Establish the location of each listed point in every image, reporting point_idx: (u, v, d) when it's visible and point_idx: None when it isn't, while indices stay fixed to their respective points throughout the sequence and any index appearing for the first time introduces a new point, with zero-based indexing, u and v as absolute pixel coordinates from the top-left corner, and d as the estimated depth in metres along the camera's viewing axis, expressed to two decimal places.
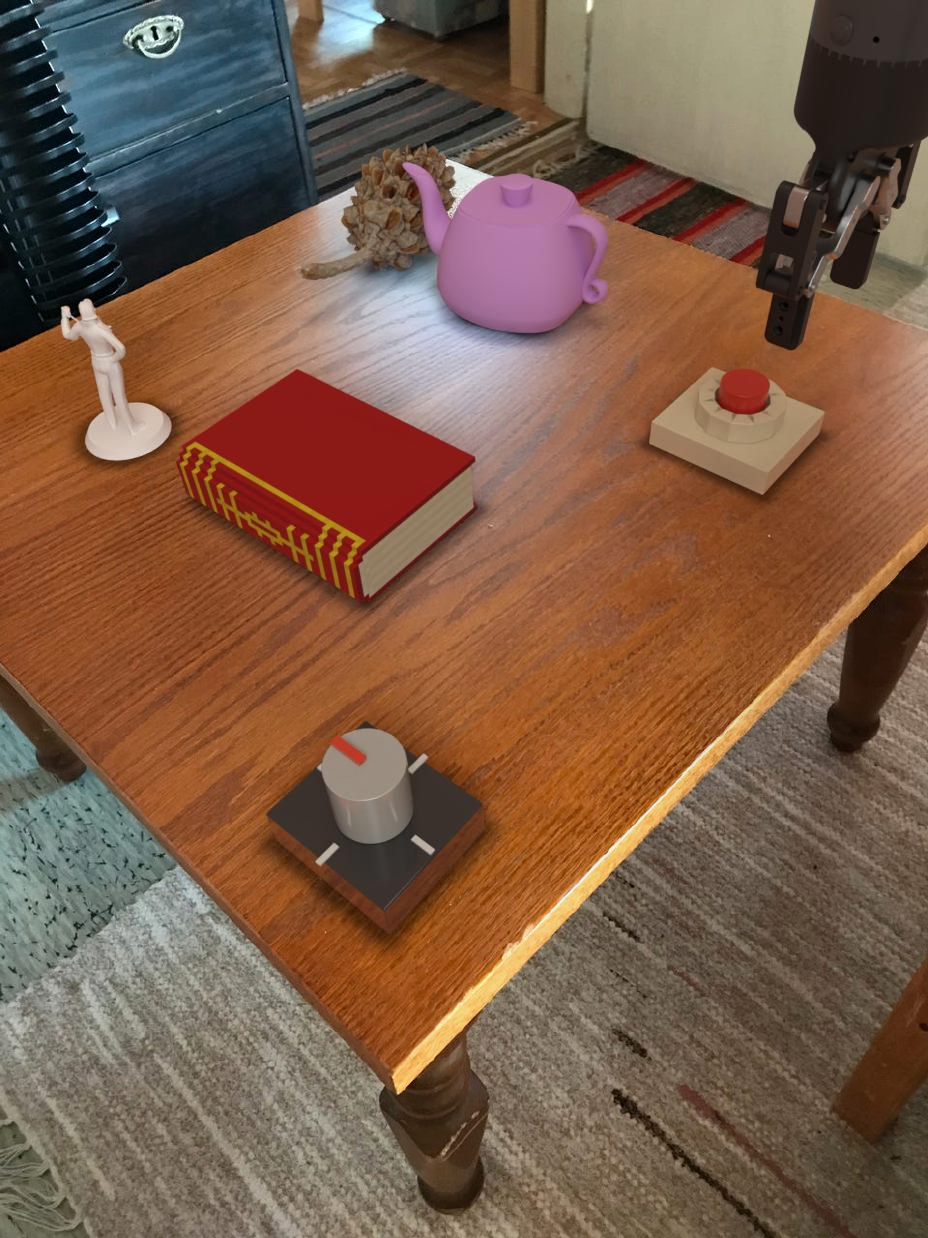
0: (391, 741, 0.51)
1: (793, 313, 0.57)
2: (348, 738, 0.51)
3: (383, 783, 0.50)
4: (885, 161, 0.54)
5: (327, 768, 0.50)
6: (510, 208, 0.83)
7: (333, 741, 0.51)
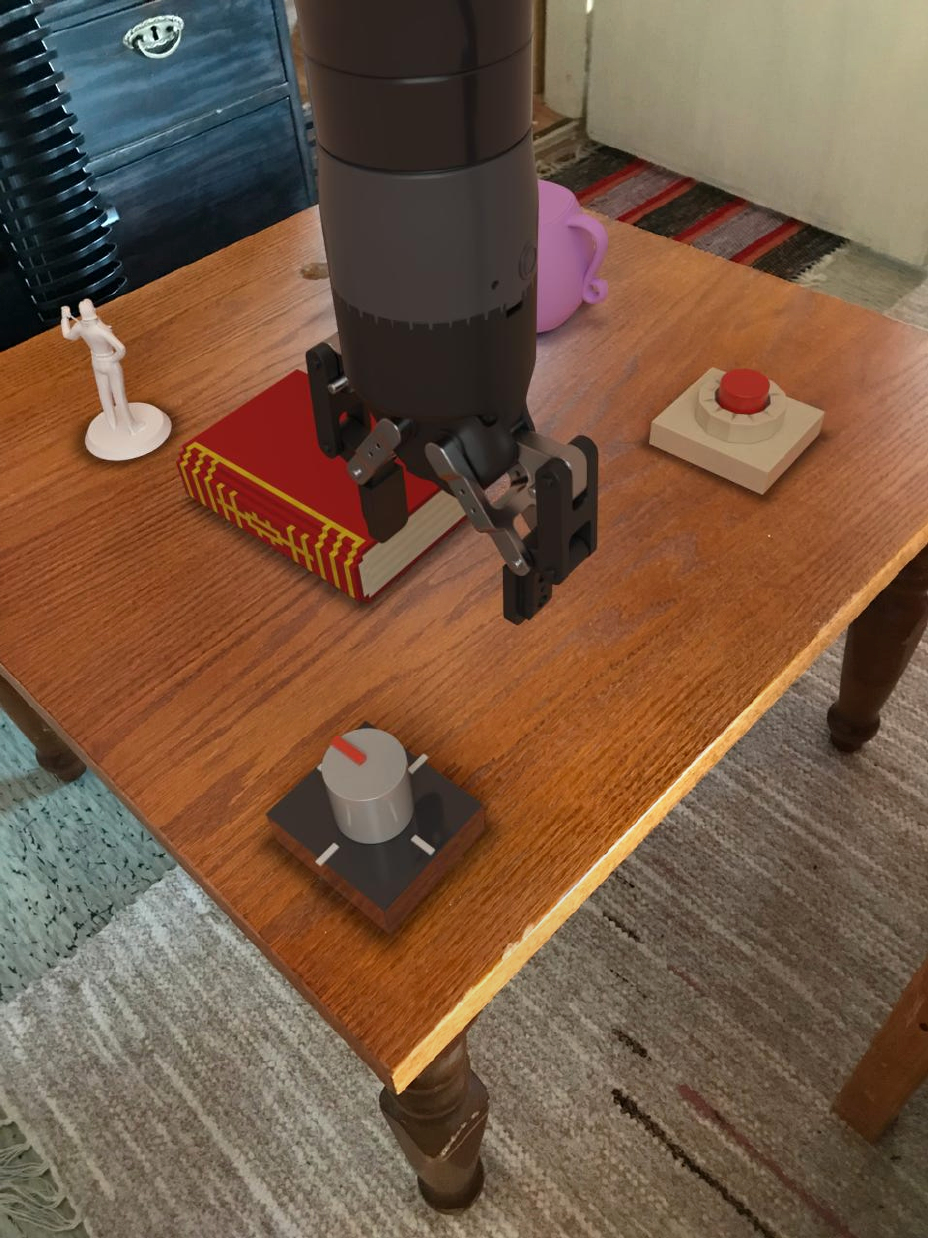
0: (391, 741, 0.51)
1: (359, 487, 0.47)
2: (348, 738, 0.51)
3: (383, 783, 0.50)
4: (437, 436, 0.39)
5: (327, 768, 0.50)
6: None
7: (333, 741, 0.51)
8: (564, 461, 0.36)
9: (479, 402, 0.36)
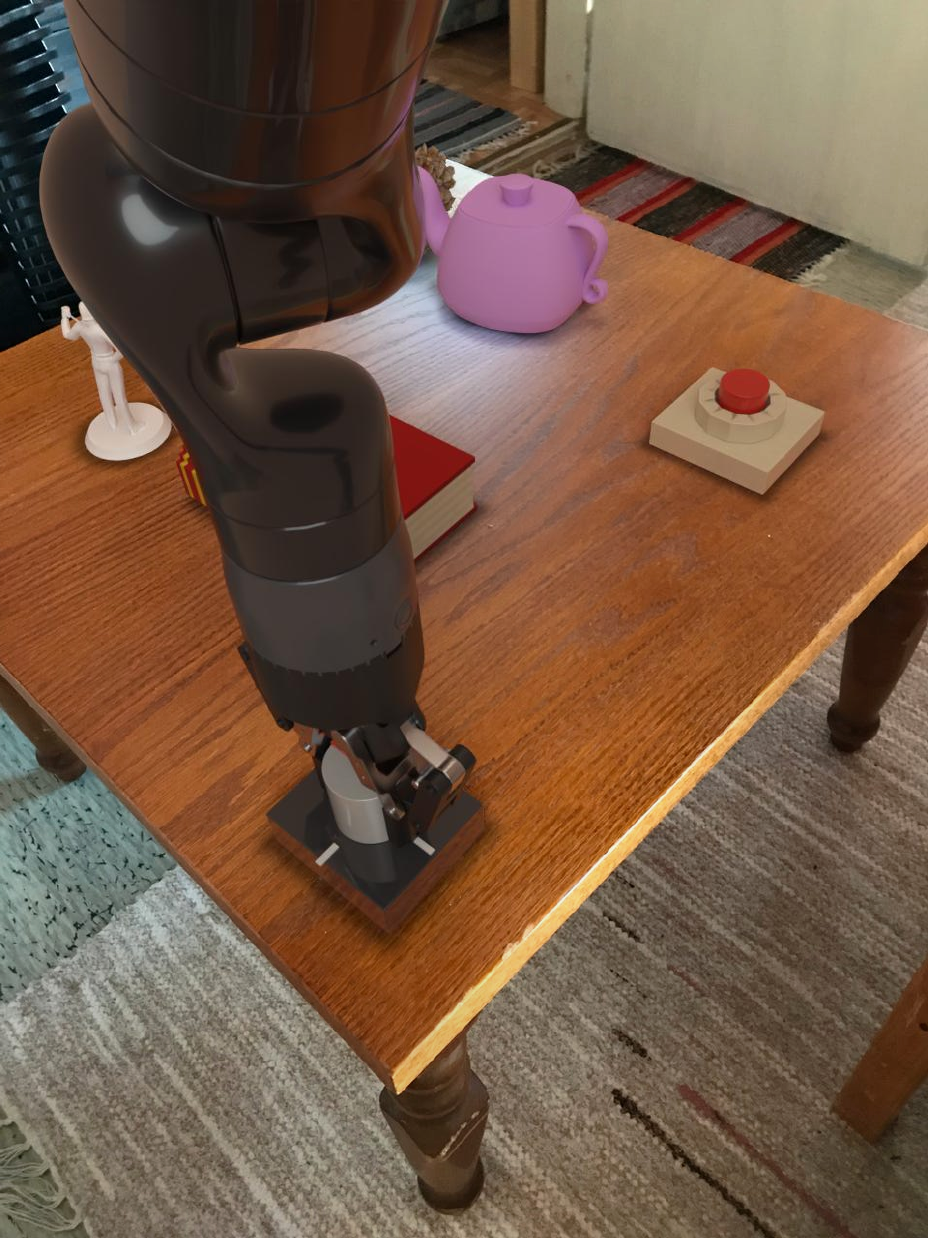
0: None
1: None
2: None
3: None
4: None
5: (327, 768, 0.50)
6: (510, 208, 0.83)
7: (333, 741, 0.51)
8: (447, 777, 0.43)
9: (369, 716, 0.41)
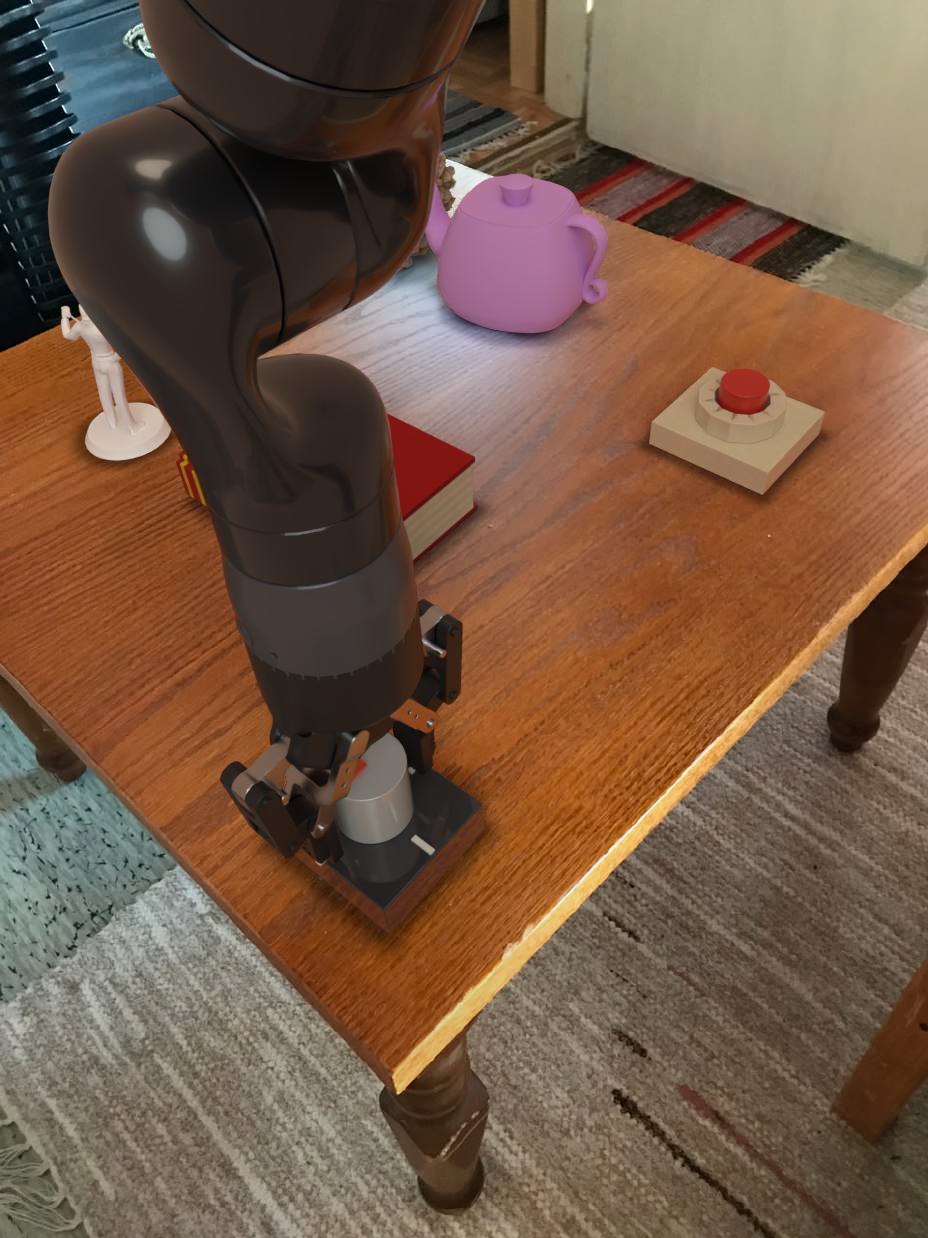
0: None
1: (311, 845, 0.49)
2: None
3: (388, 745, 0.51)
4: None
5: (367, 795, 0.49)
6: (510, 208, 0.83)
7: None
8: (446, 614, 0.49)
9: None
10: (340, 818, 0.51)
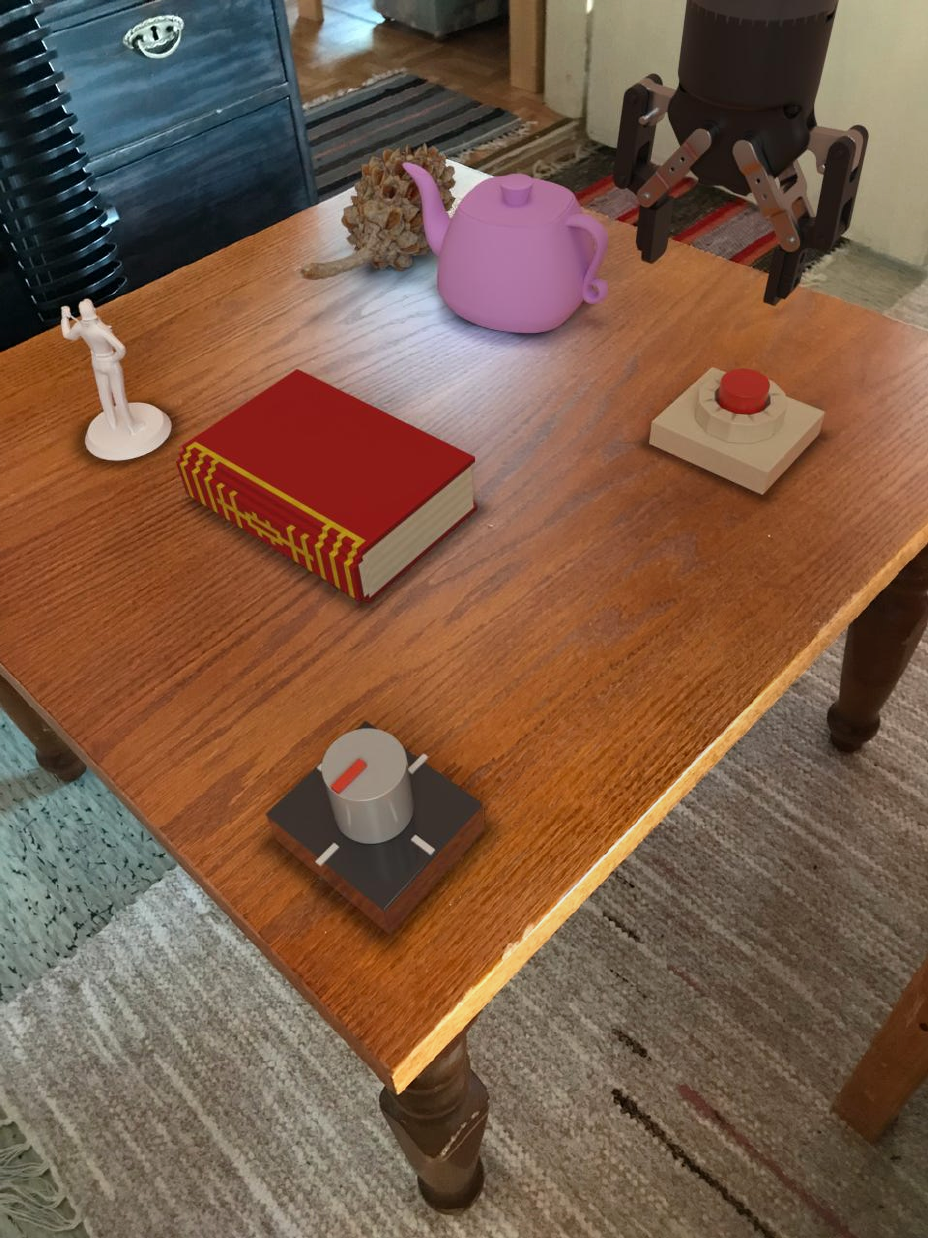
0: (340, 742, 0.51)
1: None
2: (332, 780, 0.50)
3: (388, 745, 0.51)
4: (742, 137, 0.54)
5: (367, 795, 0.49)
6: (510, 208, 0.83)
7: (337, 788, 0.49)
8: (850, 138, 0.51)
9: (795, 92, 0.50)
10: (340, 818, 0.51)
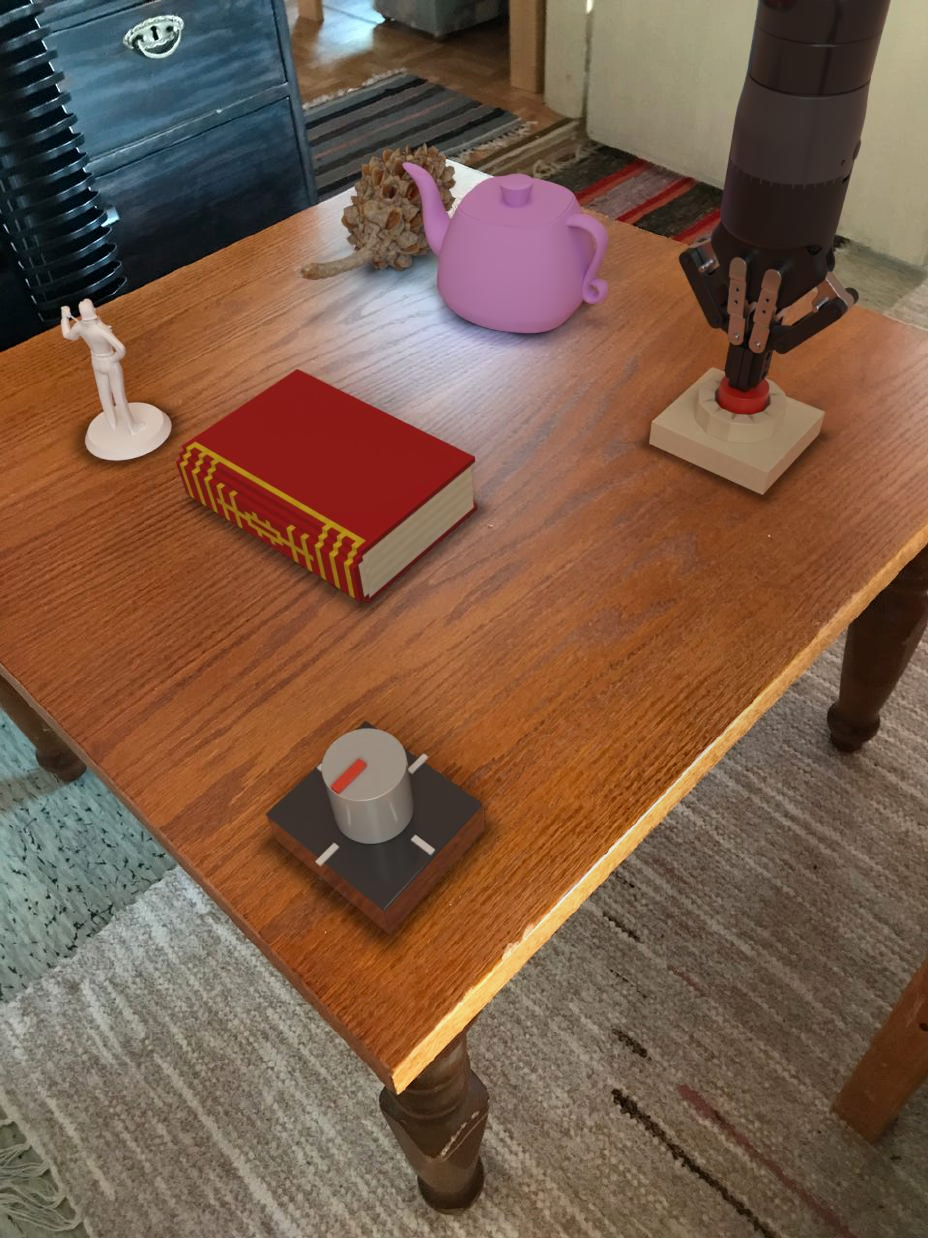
0: (340, 742, 0.51)
1: (728, 349, 0.72)
2: (332, 780, 0.50)
3: (388, 745, 0.51)
4: (772, 266, 0.65)
5: (367, 795, 0.49)
6: (510, 208, 0.83)
7: (337, 788, 0.49)
8: (847, 305, 0.64)
9: (816, 236, 0.61)
10: (340, 818, 0.51)
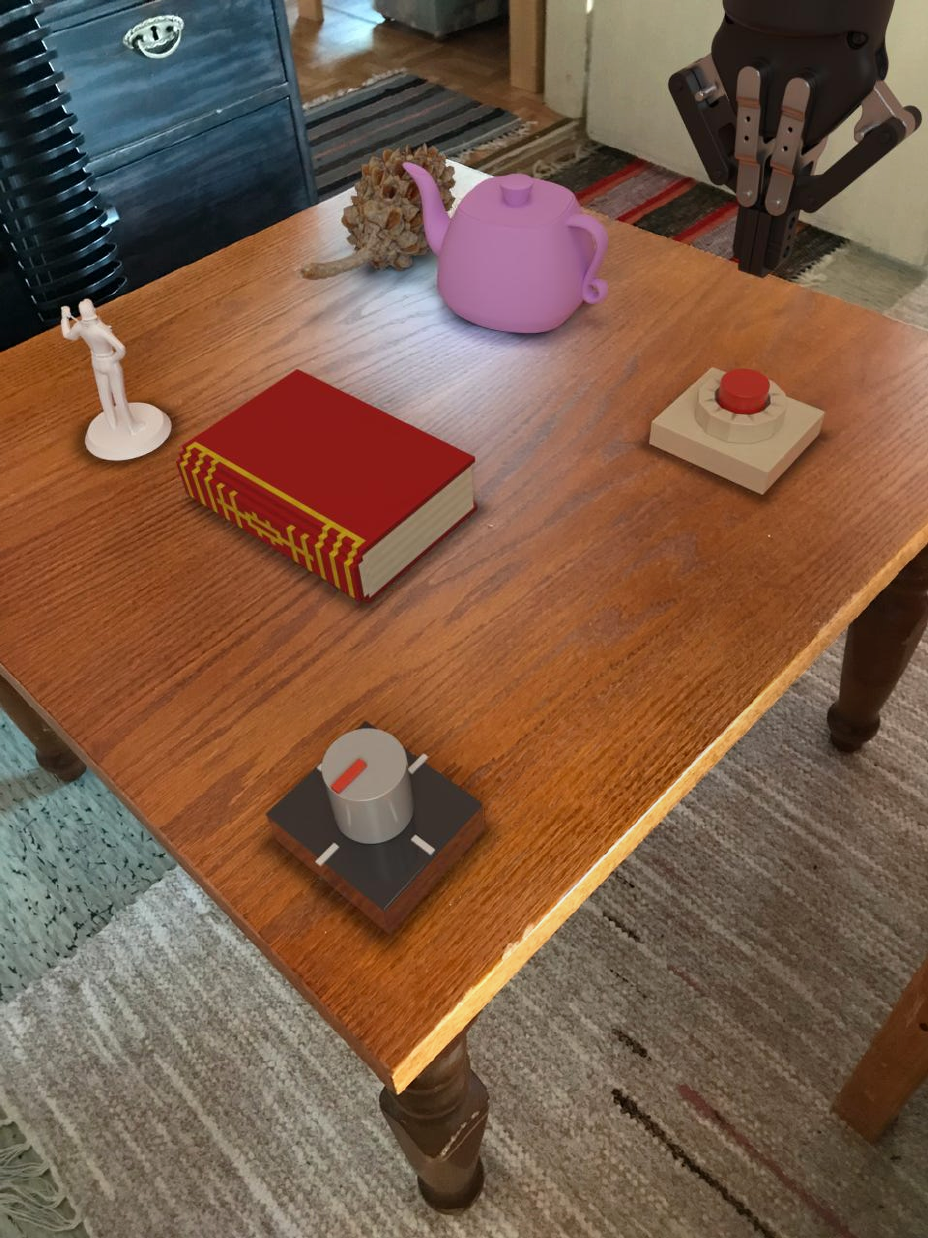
0: (340, 742, 0.51)
1: (737, 217, 0.53)
2: (332, 780, 0.50)
3: (388, 745, 0.51)
4: (798, 75, 0.45)
5: (367, 795, 0.49)
6: (510, 208, 0.83)
7: (337, 788, 0.49)
8: (905, 127, 0.45)
9: (861, 15, 0.42)
10: (340, 818, 0.51)
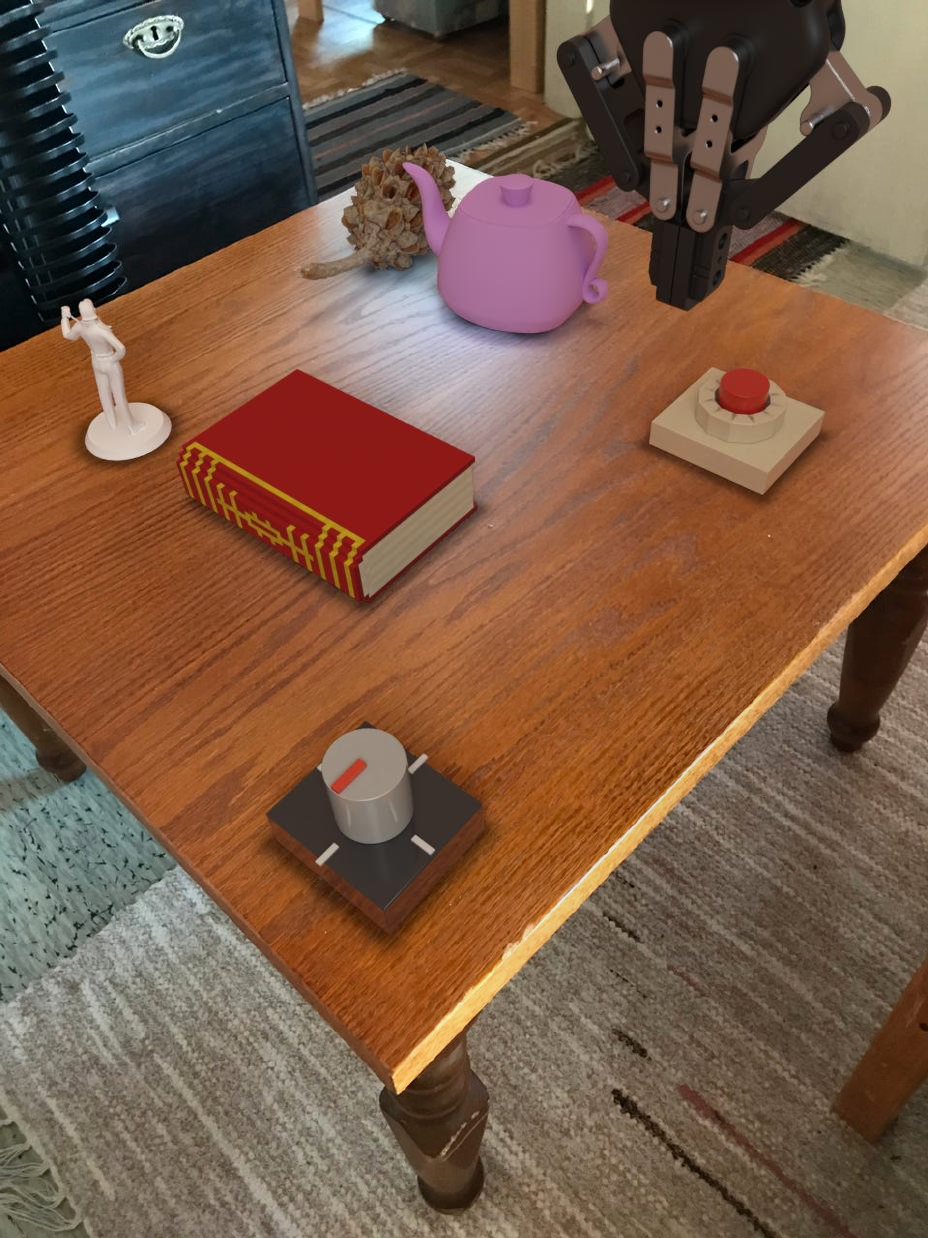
0: (340, 742, 0.51)
1: (653, 232, 0.40)
2: (332, 780, 0.50)
3: (388, 745, 0.51)
4: (723, 43, 0.33)
5: (367, 795, 0.49)
6: (510, 208, 0.83)
7: (337, 788, 0.49)
8: (868, 115, 0.32)
9: None
10: (340, 818, 0.51)
